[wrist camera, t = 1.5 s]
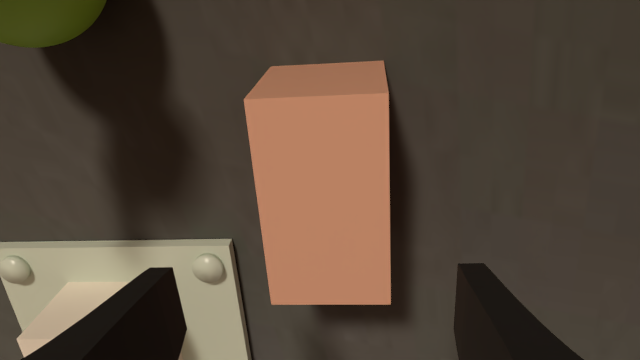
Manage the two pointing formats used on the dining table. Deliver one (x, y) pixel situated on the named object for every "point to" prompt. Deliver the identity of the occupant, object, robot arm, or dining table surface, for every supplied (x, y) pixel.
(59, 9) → the snail figurine
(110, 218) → the dining table surface
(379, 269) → the top brick
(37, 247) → the baseplate
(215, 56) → the dining table surface
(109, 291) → the bottom brick
